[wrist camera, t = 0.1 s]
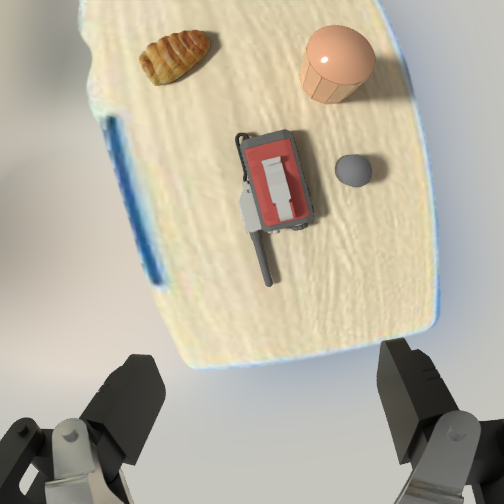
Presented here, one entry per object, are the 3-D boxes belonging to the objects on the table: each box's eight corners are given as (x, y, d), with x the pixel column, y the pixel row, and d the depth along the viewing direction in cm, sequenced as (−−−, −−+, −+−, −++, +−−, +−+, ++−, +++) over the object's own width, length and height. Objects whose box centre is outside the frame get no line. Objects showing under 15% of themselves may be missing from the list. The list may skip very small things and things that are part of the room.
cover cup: (296, 59, 31) (301, 26, 21) (346, 56, 30) (366, 25, 20) (305, 105, 32) (314, 86, 23) (356, 102, 31) (381, 83, 22)
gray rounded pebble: (332, 156, 34) (338, 155, 31) (361, 154, 34) (369, 153, 30) (336, 186, 35) (342, 188, 32) (365, 183, 35) (373, 185, 31)
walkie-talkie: (221, 139, 35) (262, 284, 40) (214, 137, 31) (260, 298, 36) (289, 121, 34) (325, 270, 39) (290, 116, 29) (330, 282, 35)
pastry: (199, 24, 30) (191, 13, 26) (220, 58, 32) (214, 48, 28) (141, 58, 32) (129, 51, 28) (159, 93, 34) (147, 87, 30)
